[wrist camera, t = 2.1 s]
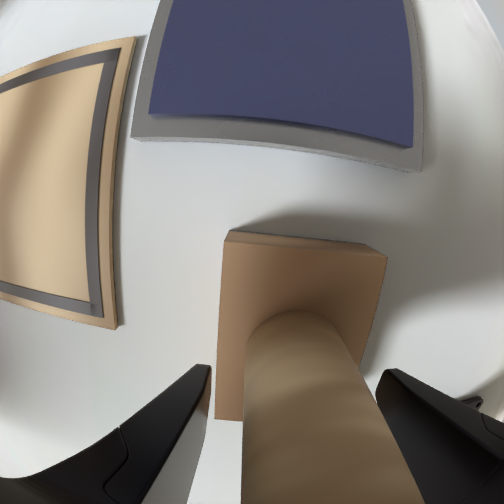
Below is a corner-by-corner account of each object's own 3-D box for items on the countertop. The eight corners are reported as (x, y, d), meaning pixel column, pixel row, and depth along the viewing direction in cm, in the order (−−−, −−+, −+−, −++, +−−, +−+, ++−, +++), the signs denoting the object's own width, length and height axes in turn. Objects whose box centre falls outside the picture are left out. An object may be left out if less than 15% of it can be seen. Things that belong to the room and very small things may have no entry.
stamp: (363, 243, 10) (564, 381, 1) (327, 390, 12) (380, 560, 3) (229, 230, 10) (130, 456, 1) (219, 386, 12) (194, 575, 3)
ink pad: (399, -2, 7) (411, -16, 6) (407, 172, 9) (427, 172, 8) (182, -33, 7) (175, -50, 6) (141, 141, 9) (125, 135, 8)
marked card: (137, 39, 8) (134, 35, 8) (117, 326, 11) (114, 330, 10) (-24, 92, 8) (-28, 91, 7) (-29, 285, 10) (-33, 286, 10)
